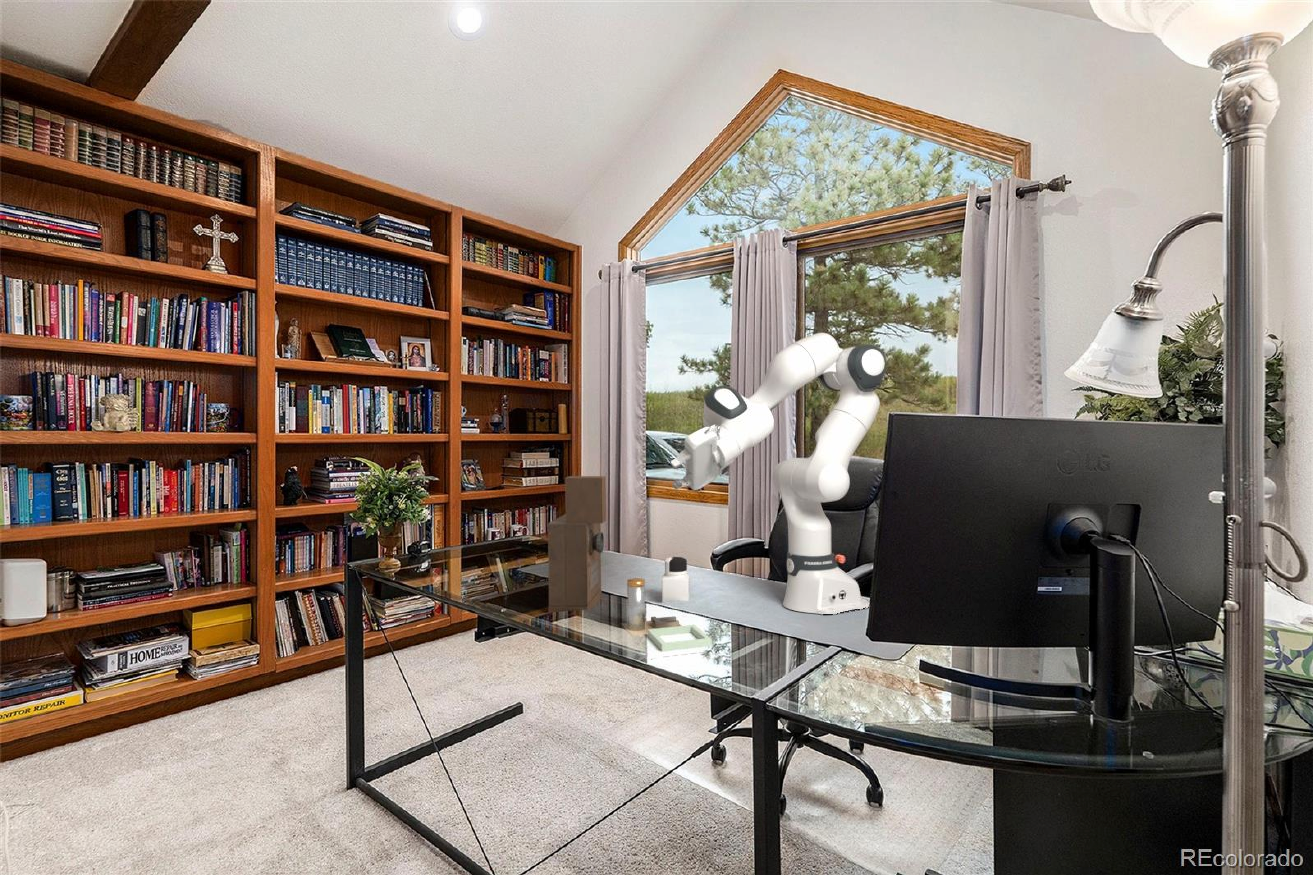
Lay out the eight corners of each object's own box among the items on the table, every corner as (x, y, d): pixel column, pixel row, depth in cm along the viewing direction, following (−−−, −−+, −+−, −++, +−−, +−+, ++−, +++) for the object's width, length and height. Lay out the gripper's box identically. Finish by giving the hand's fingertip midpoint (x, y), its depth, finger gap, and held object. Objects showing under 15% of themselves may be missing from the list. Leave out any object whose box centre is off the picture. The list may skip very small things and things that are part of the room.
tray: (694, 636, 150) (694, 624, 150) (711, 651, 140) (711, 639, 140) (647, 641, 147) (647, 629, 147) (662, 657, 136) (662, 644, 136)
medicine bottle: (689, 598, 184) (689, 555, 183) (688, 605, 177) (688, 560, 176) (664, 598, 184) (663, 555, 184) (662, 605, 177) (661, 560, 177)
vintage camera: (603, 614, 168) (601, 477, 168) (548, 613, 170) (546, 478, 169) (615, 596, 187) (613, 472, 187) (566, 595, 189) (564, 473, 188)
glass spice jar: (642, 625, 155) (642, 577, 155) (647, 630, 151) (646, 581, 151) (626, 626, 154) (625, 578, 154) (630, 631, 150) (629, 582, 150)
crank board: (673, 623, 160) (673, 611, 160) (686, 635, 151) (686, 622, 151) (621, 628, 157) (620, 615, 156) (631, 641, 147) (631, 627, 147)
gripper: (728, 430, 151) (680, 461, 147) (726, 477, 168) (682, 506, 164) (711, 413, 154) (663, 443, 150) (710, 461, 171) (667, 488, 167)
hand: (673, 476), depth 157 cm, fingers open, 8 cm apart
